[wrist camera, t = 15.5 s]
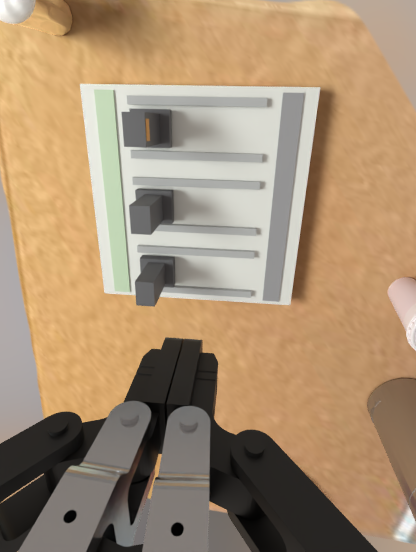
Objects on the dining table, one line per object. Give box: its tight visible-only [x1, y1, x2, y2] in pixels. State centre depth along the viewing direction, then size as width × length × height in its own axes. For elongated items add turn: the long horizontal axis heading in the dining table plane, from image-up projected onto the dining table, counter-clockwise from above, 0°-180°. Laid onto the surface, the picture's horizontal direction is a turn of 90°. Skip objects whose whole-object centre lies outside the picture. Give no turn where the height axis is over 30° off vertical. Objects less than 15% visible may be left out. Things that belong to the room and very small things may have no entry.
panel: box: [80, 84, 320, 306], centre depth 36 cm, size 24×24×9 cm
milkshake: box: [0, 0, 73, 36], centre depth 30 cm, size 4×5×10 cm
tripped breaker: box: [121, 108, 172, 148], centre depth 32 cm, size 4×4×7 cm
